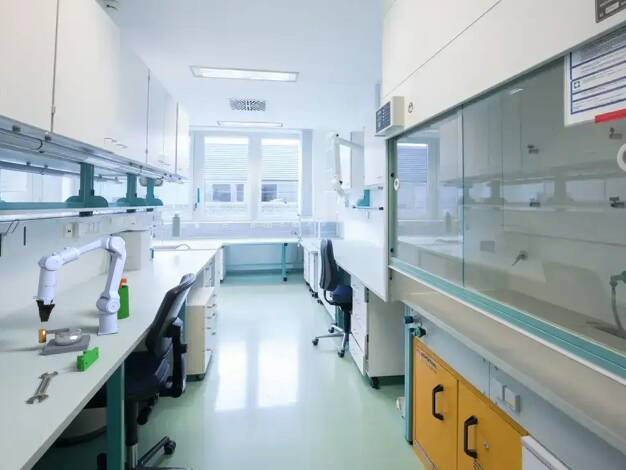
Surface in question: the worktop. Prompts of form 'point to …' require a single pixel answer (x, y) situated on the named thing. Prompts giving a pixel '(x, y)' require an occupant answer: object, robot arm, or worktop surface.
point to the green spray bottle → (123, 300)
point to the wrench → (43, 387)
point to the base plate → (67, 346)
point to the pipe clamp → (87, 358)
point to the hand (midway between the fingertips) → (43, 319)
